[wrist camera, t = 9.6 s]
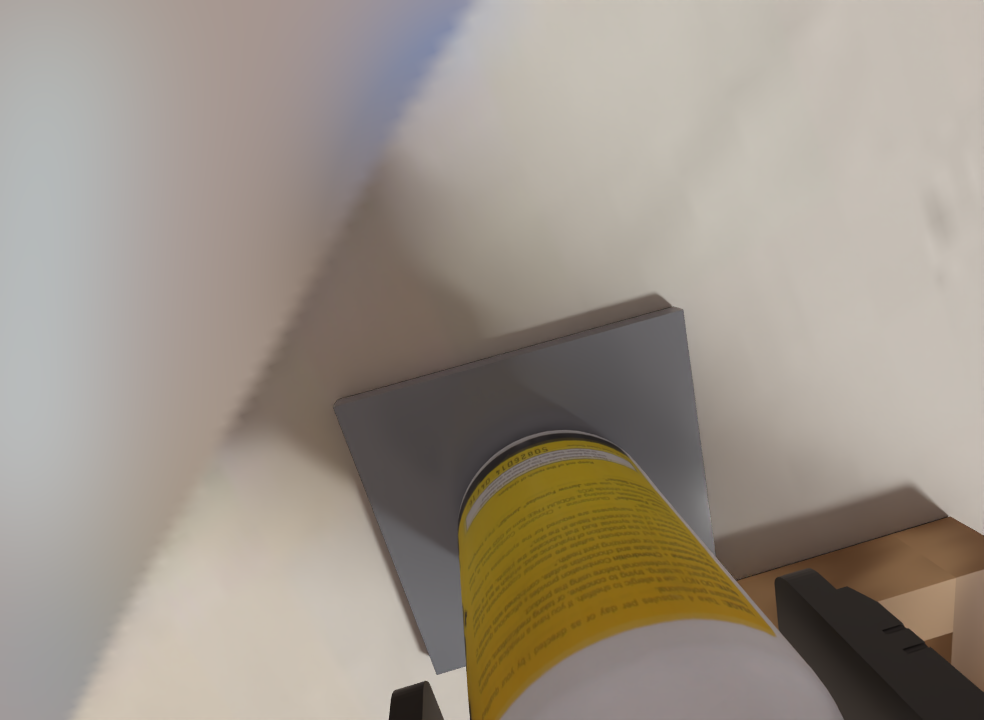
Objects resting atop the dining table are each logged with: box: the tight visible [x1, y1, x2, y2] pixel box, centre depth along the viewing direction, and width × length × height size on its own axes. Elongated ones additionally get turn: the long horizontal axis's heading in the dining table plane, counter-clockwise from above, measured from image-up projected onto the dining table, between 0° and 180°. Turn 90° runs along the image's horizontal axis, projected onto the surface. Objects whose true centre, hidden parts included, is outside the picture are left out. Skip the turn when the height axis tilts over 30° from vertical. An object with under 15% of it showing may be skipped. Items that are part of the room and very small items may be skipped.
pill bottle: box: [458, 430, 844, 720], centre depth 10 cm, size 6×6×12 cm
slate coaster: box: [333, 306, 716, 675], centre depth 16 cm, size 11×11×1 cm
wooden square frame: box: [737, 517, 984, 692], centre depth 19 cm, size 13×14×2 cm
